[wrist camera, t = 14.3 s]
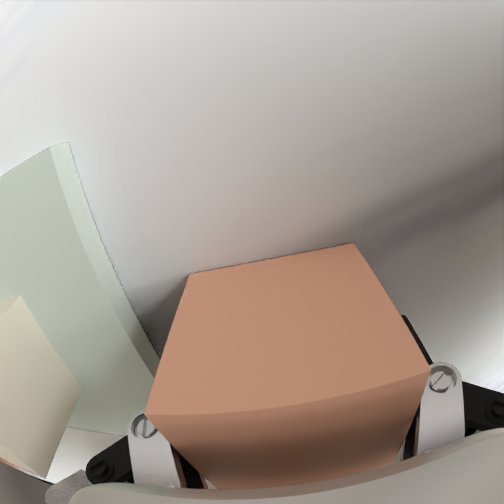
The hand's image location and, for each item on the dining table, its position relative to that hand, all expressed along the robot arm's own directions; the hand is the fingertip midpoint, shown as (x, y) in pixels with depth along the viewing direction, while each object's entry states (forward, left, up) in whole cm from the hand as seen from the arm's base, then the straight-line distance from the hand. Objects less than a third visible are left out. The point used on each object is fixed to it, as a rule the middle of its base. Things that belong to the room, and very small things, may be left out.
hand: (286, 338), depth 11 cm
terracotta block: (0, 0, -1) cm, 1 cm away
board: (+14, -1, -1) cm, 14 cm away
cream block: (+14, -1, 0) cm, 14 cm away
